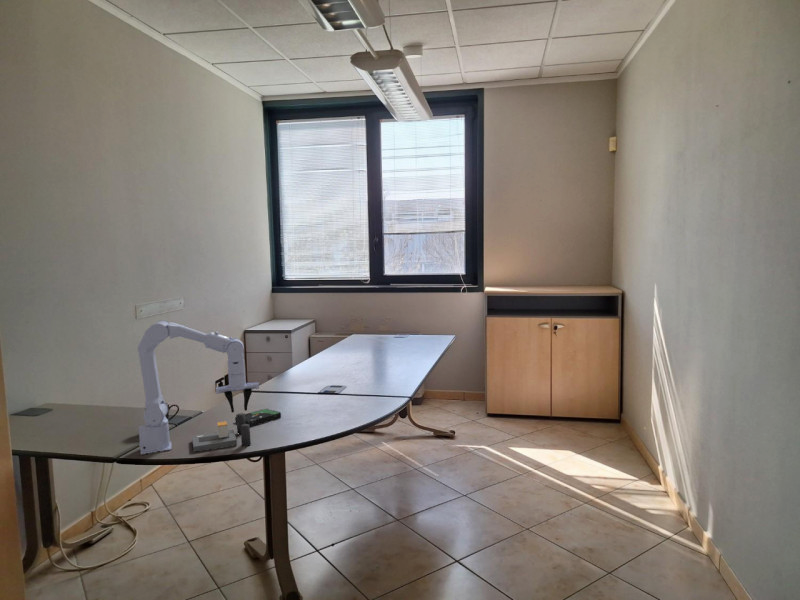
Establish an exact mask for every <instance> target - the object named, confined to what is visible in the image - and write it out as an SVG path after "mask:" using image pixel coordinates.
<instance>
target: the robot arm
mask: <svg viewBox="0 0 800 600" xmlns="http://www.w3.org/2000/svg"><path fill="white" fill-rule="evenodd" d="M168 337H169V339H175V338H178V337H179V338H180V337H181V338H185V339H189V340H192V341H196V342H199V343H203V345H204V346H205V348H207V349H211V350H213V351H216V352H219V353H222V354H223V353H224V354H225V353H226V354H227V372H228V373H227V374H228V375H227V376H228V385H223V386H218V387H217V386H216V387H215V393H216V395H219V394H224V396H225V397H226V400H227V401H228V403H229V406H230V411H231V413H234V412H235V410H234V397H233V396H234V395H233V393H234V392H239V391H240V392H241V391H242V392H243V402H244V403H243V407H244V411H248V404H249V400H250V399H251V396H252V393H253V392H252V390H259V389H260V384H259V381H258V382H257V381H256V382H247V381H246V365H245V363H246V362H245V359H244V358H245V355H244V349H245V347H244V345H245V344H244V343H243V342H244V341H242V340H240V339H239V338H237V337H234V338H233V336H225V335H223V334H220V332H219V331H214V332H213V331H211V332H209V333H205V332H202V331H199V330H197V329H194V328H190V327H187V326H185V325H182V324H179V323H176V322H172V321H170V322H169V321H167V320H164V319H163V320H162V319H161V320H158V321H157V322H155V323H153V324H152V325H150V326H149V327H148V328H147V329H146V330H145V331H144V333H143V336H142V337H141V340H140V342H139V343H138V345H137V353H138V358H139V363H140V371H141V377H142V382H143V389H144V394H145V401H144V406H145V407H144V413H143V421H144V422H145V424H144V425H143V424H142V425H139V427H138V436H139V444H138V445H139V449H140V455H146V453H148V454H152V452H154V453H158V452H157V451H160V452H165V451H164V450H166V451H170V450H172V441H171V439H170V427H169V422H168V420H169V419H167V418H166V417H165V416H166V414H167V413H168V406H167V405H166V403H165V402H166V401H165V400H164V399H165V398H164V396H163V394H162V389H161V384H160V377H159V371H158V363H157V358H156V351H155V349H157V347H158V346H159V345H160V344H161V343H162V342H164V341H165V340H166V339H167V338H168Z"/></svg>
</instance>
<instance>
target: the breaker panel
mask: <svg viewBox="0 0 800 600" xmlns="http://www.w3.org/2000/svg"><path fill="white" fill-rule="evenodd" d="M227 430H228V429H227ZM191 437H192V446H193V447H192V448H193V452H194V451H200V452H203V451H202V450H206V451H210V450H209V449H212V450H216V449H215V448H219V449H222V448H221V447H225V448H228V447H227V446H231V447H233V446H232V445H237V446H238V439H237V437H236V433H235V431H234V429H229V430H228V437H223V438H219V436H218V431H216V432H210V433H203V434H195V435H192V436H191Z"/></svg>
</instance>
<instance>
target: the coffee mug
mask: <svg viewBox="0 0 800 600" xmlns="http://www.w3.org/2000/svg"><path fill="white" fill-rule="evenodd" d="M164 402H165V403H166V405H167V406H168V413H167V414H166V416H165V417H166V418H167V419H168V423H169V422H170V421H171V420H172V419H173V418H174V417H175V416H177V414H178V413H179V411H180V407H179V406H178V405H177V404H171V405H170V402H168V401H164ZM173 407H176V408H177V410H176V412H175V413H174V414H173V415H172V416H171V417H169V416H170V415H169V414H170V410H171V408H173ZM144 408H145V405H144Z"/></svg>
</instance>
